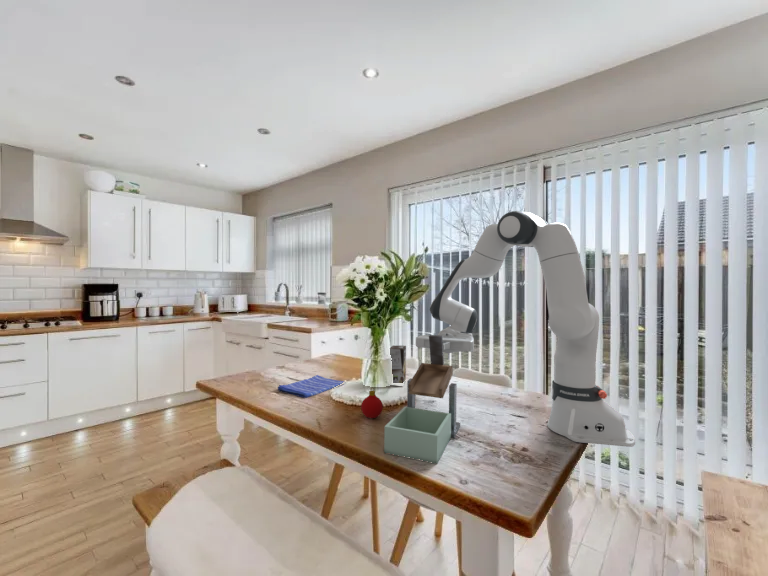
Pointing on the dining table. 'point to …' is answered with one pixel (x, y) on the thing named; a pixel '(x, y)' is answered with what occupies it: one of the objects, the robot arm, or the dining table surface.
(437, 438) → the tub
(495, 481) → the dining table surface
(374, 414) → the christmas ornament
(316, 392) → the dish towel
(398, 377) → the coffee box
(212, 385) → the dining table surface
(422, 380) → the lever tray
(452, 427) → the lever stand
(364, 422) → the dining table surface
